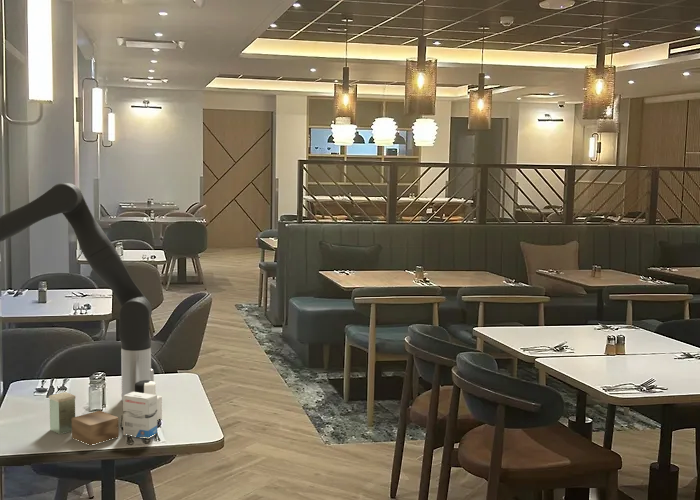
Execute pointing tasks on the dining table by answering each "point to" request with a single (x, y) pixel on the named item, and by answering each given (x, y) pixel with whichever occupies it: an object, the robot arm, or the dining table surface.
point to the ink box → (139, 414)
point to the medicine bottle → (150, 388)
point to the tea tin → (61, 412)
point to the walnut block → (95, 427)
